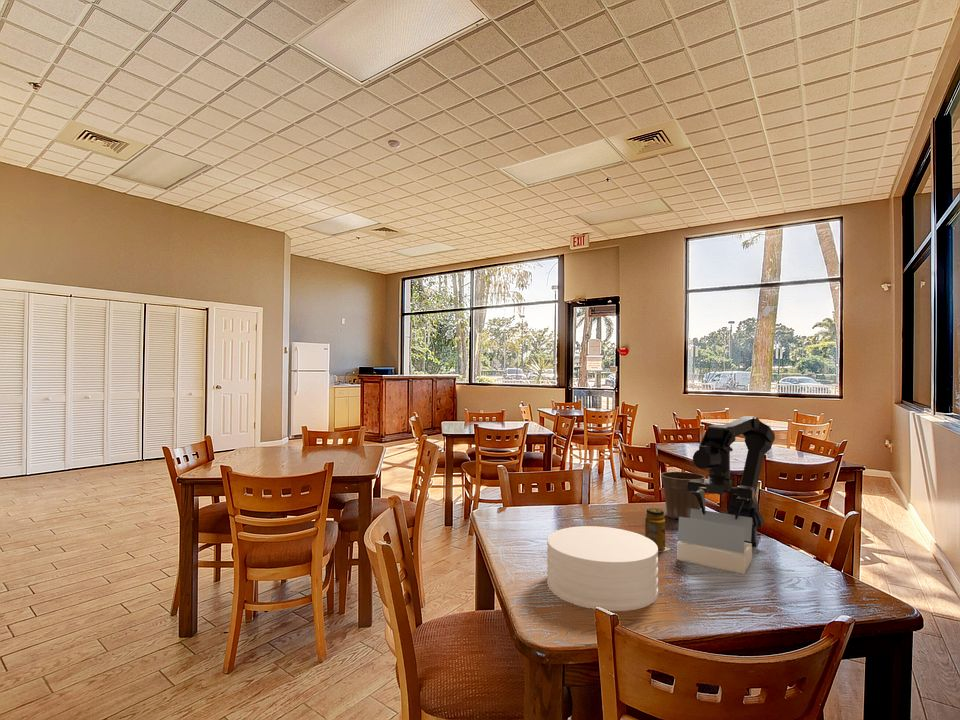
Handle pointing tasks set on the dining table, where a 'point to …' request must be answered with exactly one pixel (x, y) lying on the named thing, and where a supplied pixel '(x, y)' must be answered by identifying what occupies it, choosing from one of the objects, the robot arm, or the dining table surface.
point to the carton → (715, 557)
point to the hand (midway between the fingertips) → (719, 516)
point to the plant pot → (679, 493)
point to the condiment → (656, 528)
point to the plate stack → (602, 567)
